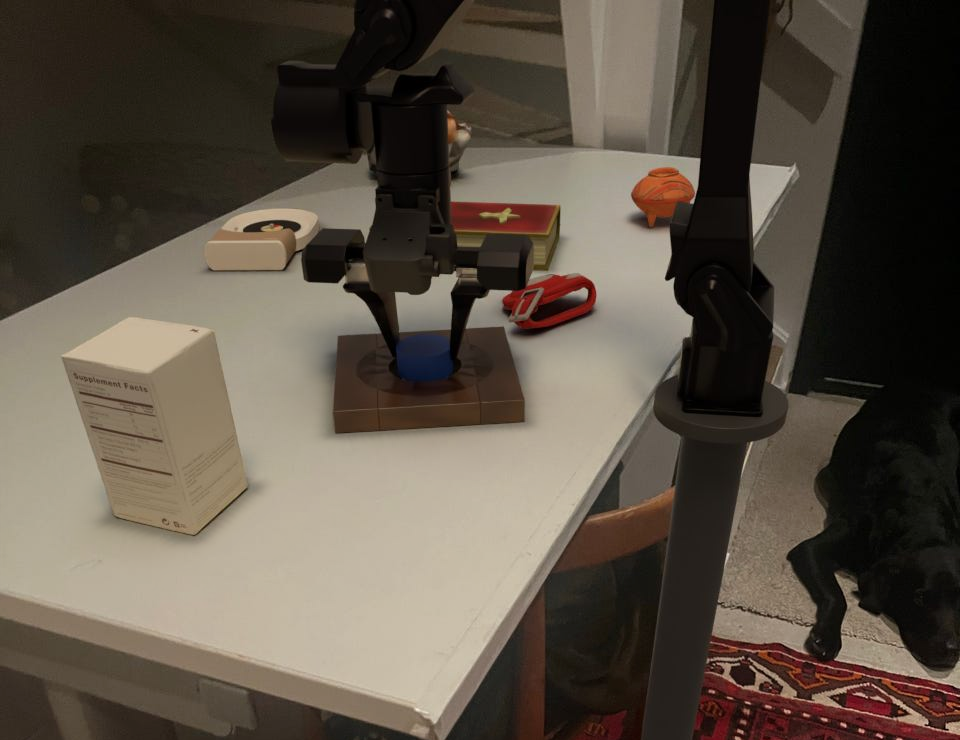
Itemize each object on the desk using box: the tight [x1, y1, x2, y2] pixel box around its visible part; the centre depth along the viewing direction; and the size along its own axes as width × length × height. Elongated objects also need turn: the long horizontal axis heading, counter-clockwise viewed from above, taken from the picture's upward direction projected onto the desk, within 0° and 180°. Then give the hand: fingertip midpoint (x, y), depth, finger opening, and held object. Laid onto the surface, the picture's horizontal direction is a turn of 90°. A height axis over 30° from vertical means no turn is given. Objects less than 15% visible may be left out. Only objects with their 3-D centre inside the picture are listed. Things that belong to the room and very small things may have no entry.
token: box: [396, 334, 454, 382], centre depth 82 cm, size 5×5×2 cm
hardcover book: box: [368, 200, 562, 271], centre depth 112 cm, size 12×21×4 cm, turn 80°
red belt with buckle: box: [501, 272, 597, 330], centre depth 95 cm, size 12×4×10 cm
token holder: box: [332, 326, 526, 434], centre depth 84 cm, size 16×16×2 cm
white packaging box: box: [60, 316, 249, 536], centre depth 66 cm, size 7×7×13 cm
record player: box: [204, 208, 320, 271], centre depth 115 cm, size 12×3×20 cm
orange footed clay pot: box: [630, 166, 696, 228], centre depth 118 cm, size 8×8×7 cm
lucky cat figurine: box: [366, 109, 472, 173], centre depth 134 cm, size 15×12×14 cm
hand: (424, 357), depth 82 cm, fingers closed on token, 5 cm apart
